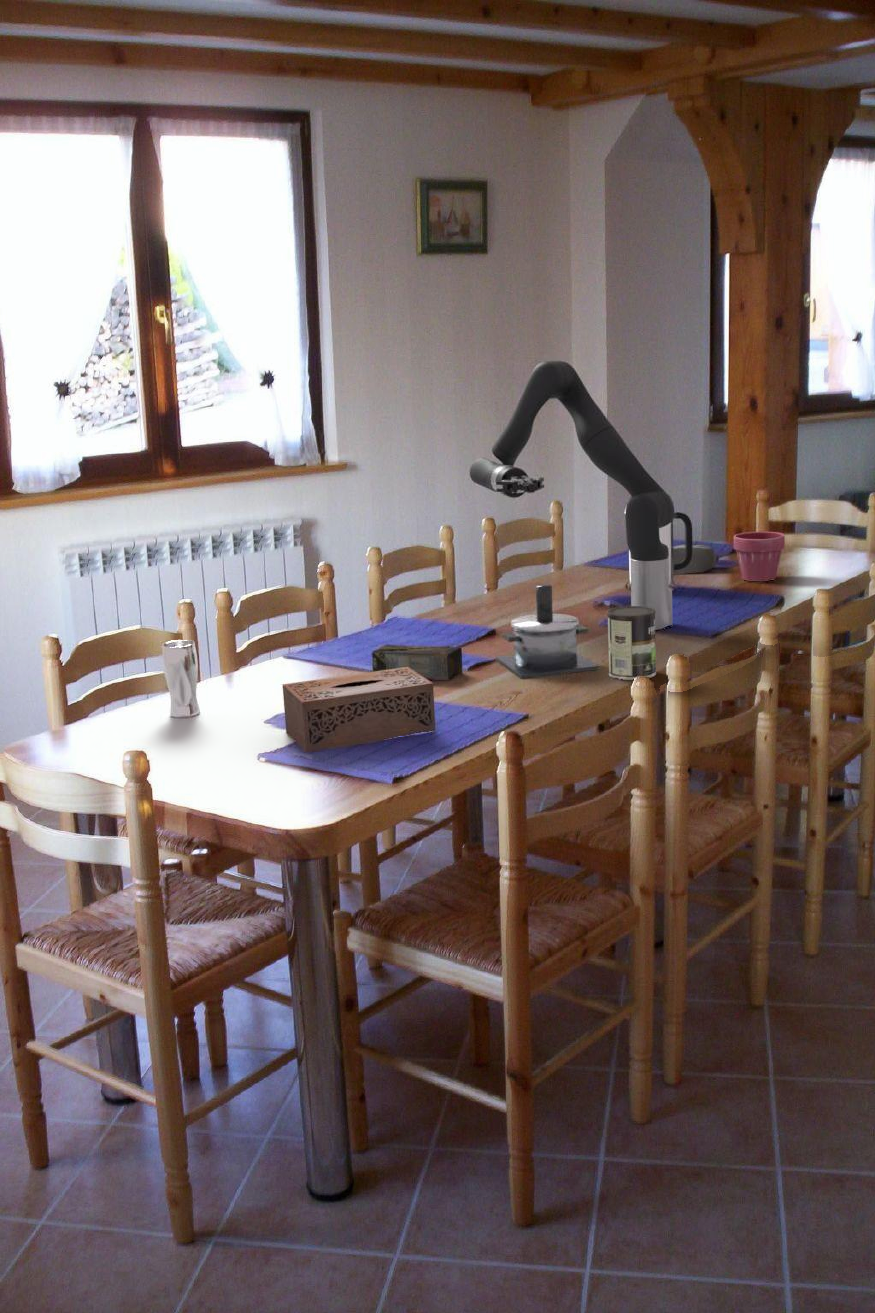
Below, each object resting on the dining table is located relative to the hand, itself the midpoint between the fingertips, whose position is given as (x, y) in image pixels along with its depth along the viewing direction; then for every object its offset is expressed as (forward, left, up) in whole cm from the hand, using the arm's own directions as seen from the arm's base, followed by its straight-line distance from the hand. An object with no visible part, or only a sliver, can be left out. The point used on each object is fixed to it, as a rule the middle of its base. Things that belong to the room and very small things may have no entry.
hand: (532, 488), depth 331 cm
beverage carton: (+37, +24, -36) cm, 57 cm away
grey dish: (-67, -58, -36) cm, 96 cm away
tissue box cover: (+58, +62, -36) cm, 92 cm away
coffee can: (-6, +45, -36) cm, 58 cm away
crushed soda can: (+89, +34, -36) cm, 102 cm away
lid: (+8, +29, -27) cm, 40 cm away
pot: (+8, +29, -36) cm, 47 cm away
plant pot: (-79, -35, -36) cm, 94 cm away
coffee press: (-48, -37, -36) cm, 71 cm away
